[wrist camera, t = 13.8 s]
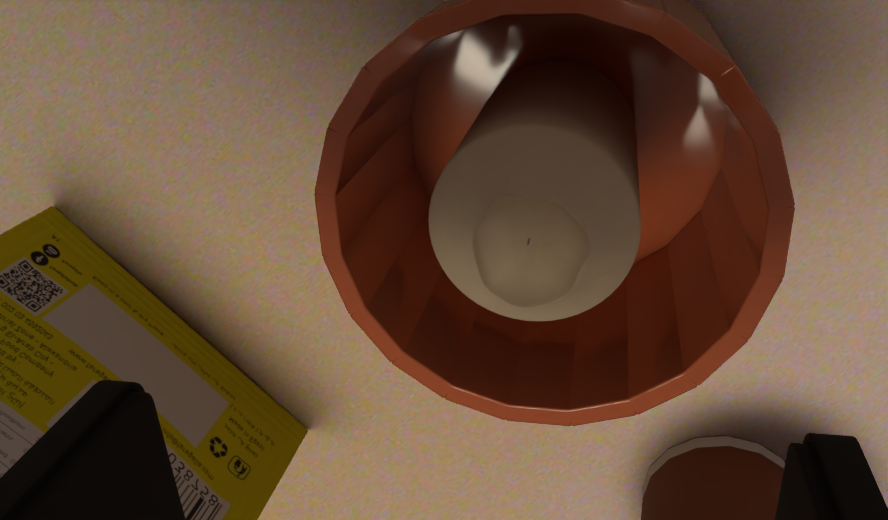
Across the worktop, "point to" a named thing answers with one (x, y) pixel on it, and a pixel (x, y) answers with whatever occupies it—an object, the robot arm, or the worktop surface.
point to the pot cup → (661, 207)
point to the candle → (542, 195)
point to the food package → (129, 370)
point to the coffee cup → (713, 481)
